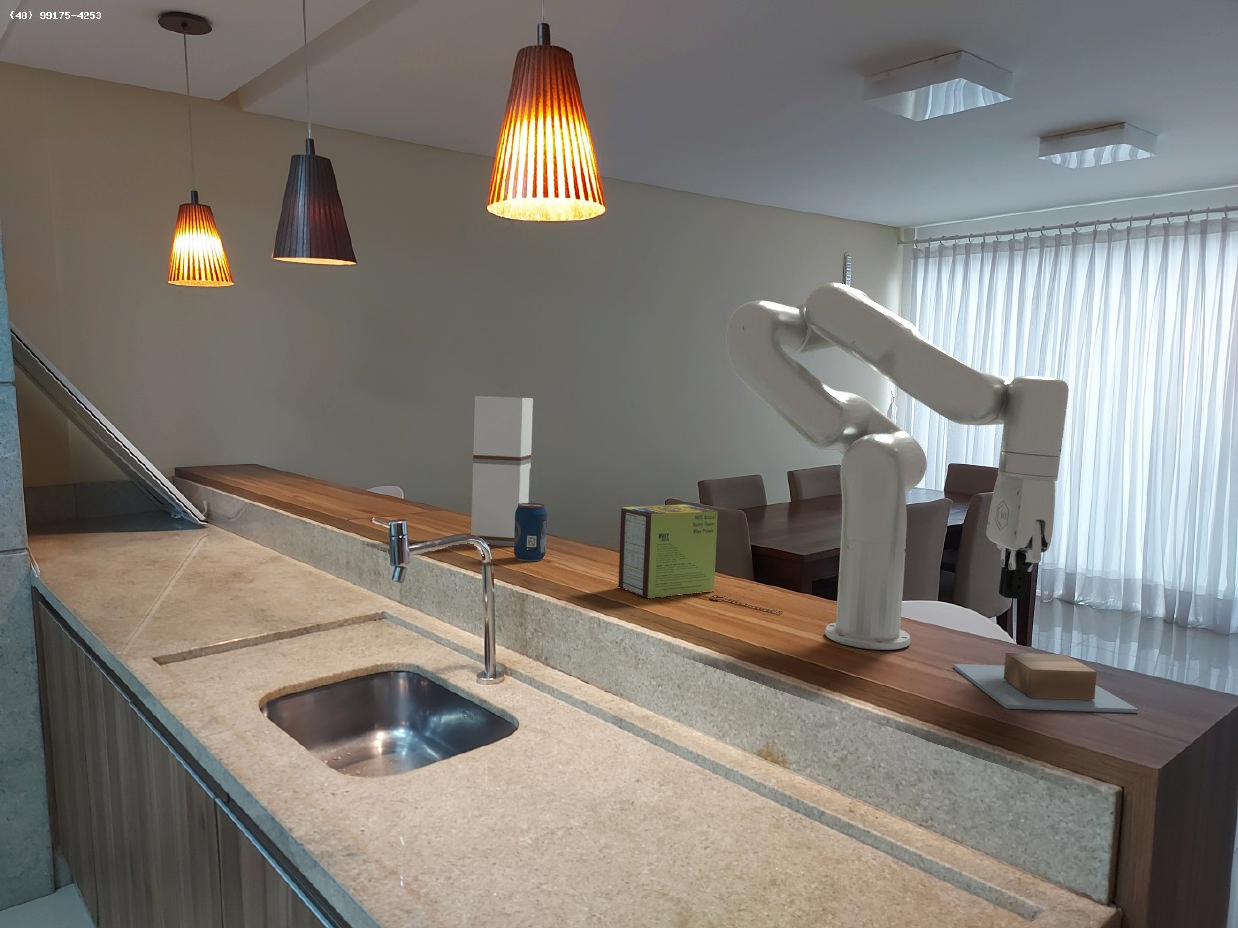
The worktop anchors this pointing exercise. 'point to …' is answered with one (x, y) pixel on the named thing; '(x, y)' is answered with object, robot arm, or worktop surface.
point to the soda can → (530, 532)
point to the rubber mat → (1013, 698)
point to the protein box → (667, 550)
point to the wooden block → (1050, 676)
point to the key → (743, 603)
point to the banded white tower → (500, 465)
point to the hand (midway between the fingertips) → (1012, 596)
